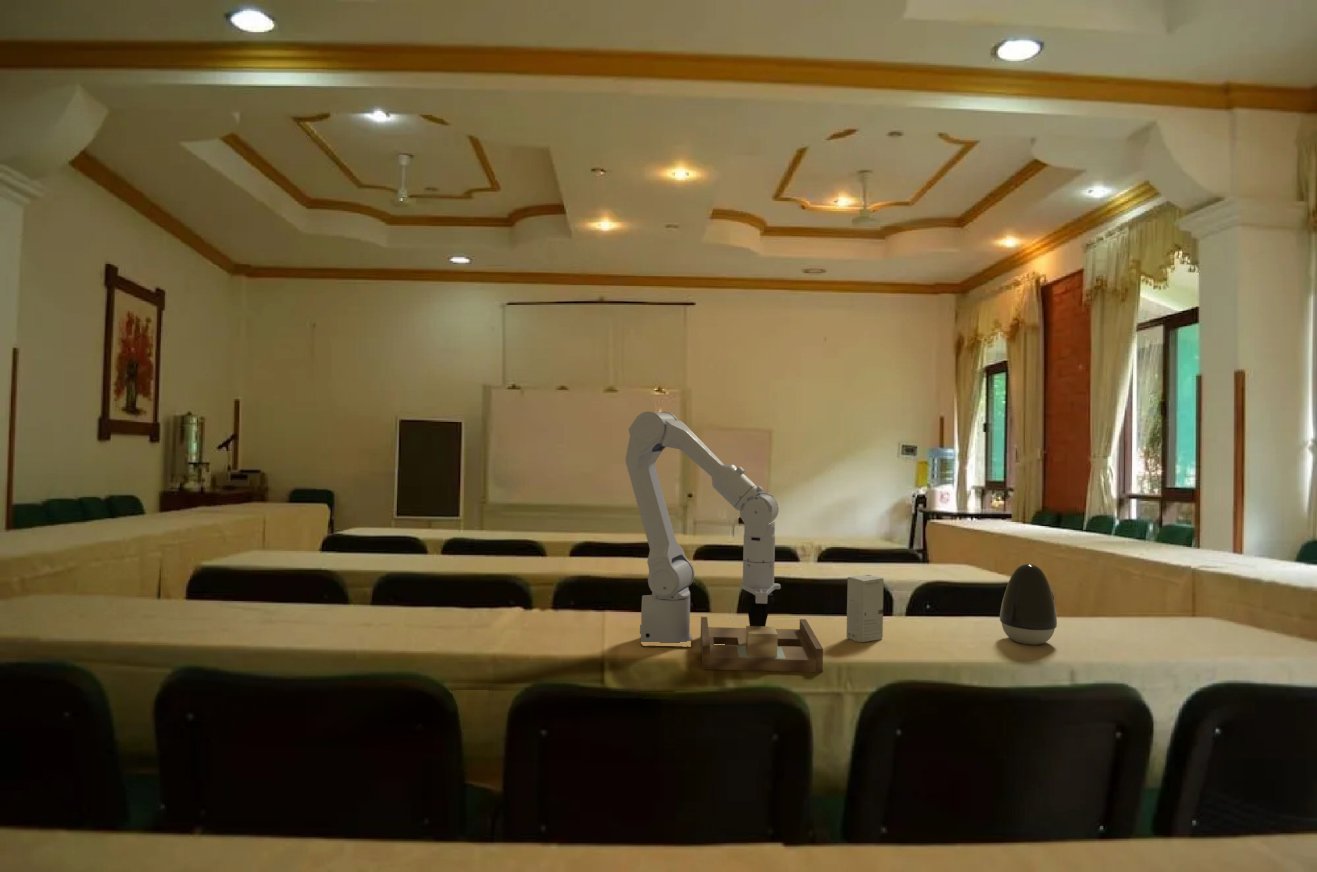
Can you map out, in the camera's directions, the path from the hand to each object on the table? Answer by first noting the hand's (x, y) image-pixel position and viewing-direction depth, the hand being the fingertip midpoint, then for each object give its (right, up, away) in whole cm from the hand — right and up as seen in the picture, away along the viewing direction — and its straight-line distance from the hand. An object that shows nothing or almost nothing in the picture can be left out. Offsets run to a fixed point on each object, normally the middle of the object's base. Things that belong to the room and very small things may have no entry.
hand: (757, 633), depth 149 cm
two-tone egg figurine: (+54, -4, +11) cm, 56 cm away
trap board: (0, -4, 0) cm, 3 cm away
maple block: (0, -2, -7) cm, 7 cm away
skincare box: (+22, -4, +11) cm, 25 cm away
